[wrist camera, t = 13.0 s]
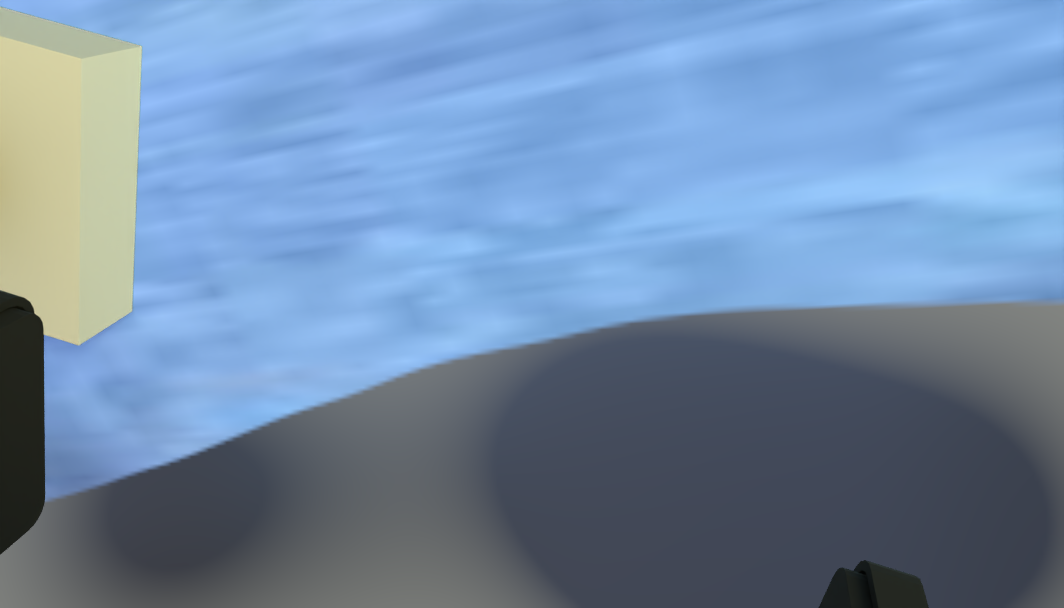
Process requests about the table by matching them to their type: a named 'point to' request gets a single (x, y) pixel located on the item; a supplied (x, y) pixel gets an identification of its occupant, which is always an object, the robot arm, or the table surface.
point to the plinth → (68, 172)
